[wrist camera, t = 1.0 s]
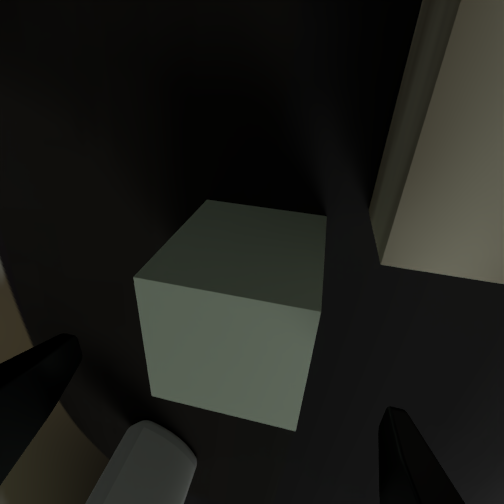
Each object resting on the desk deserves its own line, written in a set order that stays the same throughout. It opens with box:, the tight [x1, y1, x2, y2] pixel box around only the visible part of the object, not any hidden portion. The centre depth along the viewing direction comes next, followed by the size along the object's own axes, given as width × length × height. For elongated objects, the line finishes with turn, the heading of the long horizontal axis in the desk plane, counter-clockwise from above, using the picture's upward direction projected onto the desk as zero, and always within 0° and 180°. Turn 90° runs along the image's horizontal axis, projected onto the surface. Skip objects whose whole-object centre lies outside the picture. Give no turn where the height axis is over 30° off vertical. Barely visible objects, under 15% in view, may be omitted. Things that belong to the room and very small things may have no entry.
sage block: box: [133, 200, 327, 431], centre depth 12 cm, size 5×5×6 cm
